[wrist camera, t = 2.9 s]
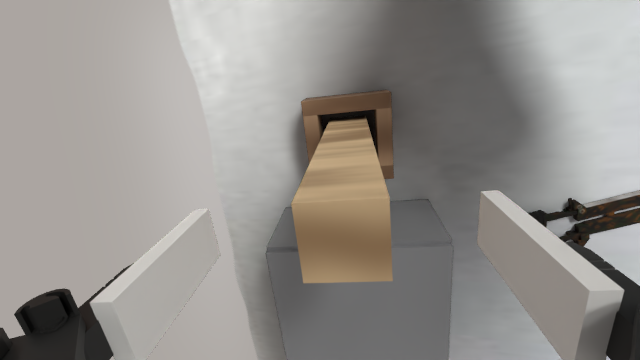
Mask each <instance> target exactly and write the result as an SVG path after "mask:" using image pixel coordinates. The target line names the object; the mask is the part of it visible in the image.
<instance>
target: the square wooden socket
mask: <svg viewBox="0 0 640 360" xmlns="http://www.w3.org/2000/svg"><path fill="white" fill-rule="evenodd" d="M301 105H302V113H303V121H304V129H305V136H306V144H307V152H308V160H309V164H310V162H311V159H312V157H313V155H314V153H315V151H316V149H317V146H318V144H319V142H320V140H321V138H322V136H323V124H322V115H323V114H333V113H343V112H353V111H363V110H374V123H375V142H376V153H377V157H378V160H379V163H380V167H381V170H382V174H383V177H384V179H392V178H394V172H393V140H392V107H391V92H390V91H388V90H380V91H370V92H361V93H352V94H343V95H333V96H324V97H315V98H306V99H305V100H303V101H301Z"/></svg>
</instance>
